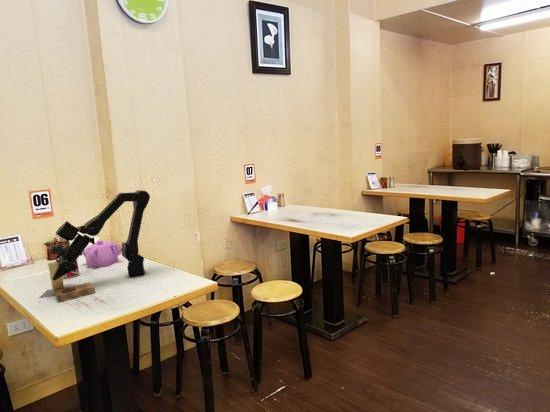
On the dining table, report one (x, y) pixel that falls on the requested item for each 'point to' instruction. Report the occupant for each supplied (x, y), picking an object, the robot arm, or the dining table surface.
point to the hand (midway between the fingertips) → (52, 278)
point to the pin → (52, 269)
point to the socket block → (74, 292)
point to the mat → (48, 293)
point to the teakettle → (101, 254)
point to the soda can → (72, 273)
